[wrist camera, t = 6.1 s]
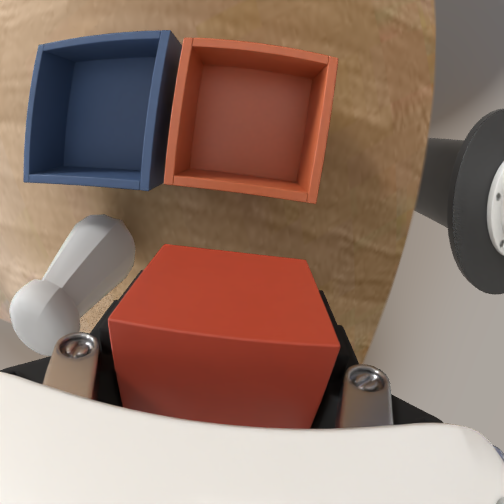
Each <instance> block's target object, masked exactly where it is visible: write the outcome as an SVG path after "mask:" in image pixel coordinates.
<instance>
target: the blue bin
mask: <svg viewBox="0 0 504 504" xmlns="http://www.w3.org/2000/svg"><path fill="white" fill-rule="evenodd" d="M181 50H182V45H181V44H180V42H179V41H178V40H177V38H176V37H175V36H174V34H173V33H172V32H171V31H170V30H162V31H137V32H122V33H111V34H102V35H93V36H86V37H79V38H73V39H67V40H62V41H56V42H51V43H47V44H42V45H39V46H38V51H37V55H36V60H35V65H34V70H33V76H32V82H31V88H30V95H29V102H28V111H27V120H26V132H25V147H24V182H28V183H29V182H30V183H49V184H67V185H82V186H96V187H109V188H121V189H133V190H143V191H149V190H151V189H153V188H155V187H157V186H159V185H161V184H162V183H164V175H165V164H166V154H167V145H168V136H169V128H170V120H171V113H172V105H173V98H174V92H175V85H176V79H177V73H178V67H179V61H180V56H181Z"/></svg>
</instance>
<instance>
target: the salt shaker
mask: <svg viewBox="0 0 504 504" xmlns="http://www.w3.org/2000/svg"><path fill="white" fill-rule="evenodd" d="M134 258H135V244H134V239H133V237H132V236H131V234H130V232H129V231H128V229H127V227H126V226H125V224H124V222H123V221H122V220H119V219H114V218H112V217H109V216H107V215H105V214H103V215H90V216H87V217H86V218H84V219H83V220H81V221H80V222H78V223H77V224H76V225H75V226H74V228H73V229H72V231H71V232H70V234H69V235H68V237H67V239H66V240H65V242H64V243H63V245H62V247H61V248H60V250H59V251H58V253H57V255H56V256H55V258H54V260H53V261H52V263H51V265H50V267H49V268H48V270H47V272H46V273H45V275H44V277H43V278H42V280H32V281H30V282H29V283H27V284H26V285H25V286H23V287H22V288H21V289H20V290H19V291H18V292H16V294H15V296H14V297H13V299H12V301H11V305H10V309H9V313H10V318H11V322H12V326H13V328H14V330H15V332H16V334H17V335H18V337H19V339H20V340H21V341H22V342H23V343H24V344H25V345H26V346H27V347H29V348H30V349H32V350H33V351H35V352H37V353H39V354H41V355H47V356H52V353H53V350H54V347H55V344H56V342H57V341H58V340H59V339H60V338H61V337H63V336H65V335H67V334H70V333H74V332H79V331H80V318H81V317H82V316H83V315H84V314H85V313H86V312H87V311H89V310H90V309H91V308H92V307H93V306H94V305H95V304H96V303H97V302H99V301H100V300H101V299H102V298H103V297H104V296H105V295H107V294H108V293H109V292H110V291H111V290H112V289H113V288H115V287H116V286H117V285H118V284H119V283H120V282H121V281H123V280H124V279H125V278H126V277H127V275H128V273H129V272H130V270H131V269H132V267H133V265H134Z"/></svg>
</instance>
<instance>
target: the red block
mask: <svg viewBox="0 0 504 504" xmlns="http://www.w3.org/2000/svg"><path fill="white" fill-rule="evenodd" d="M108 327H109V334H110V341H111V347H112V354H113V360H114V365H115V371H116V376H117V381H118V386H119V391H120V396H121V401H122V405H123V408H128V409H132V410H137V411H142V412H147V413H152V414H157V415H163V416H168V417H174V418H180V419H187V420H194V421H201V422H209V423H217V424H226V425H237V426H249V427H265V428H288V429H310V428H311V425H312V423H313V421H314V418H315V416H316V413H317V411H318V408H319V405H320V403H321V400H322V398H323V395H324V392H325V390H326V387H327V384H328V381H329V379H330V376H331V373H332V370H333V367H334V364H335V362H336V359H337V356H338V353H339V350H340V343H339V340H338V338H337V335H336V333H335V330H334V327H333V325H332V322H331V320H330V317H329V315H328V312H327V310H326V307H325V305H324V302H323V300H322V297H321V295H320V293H319V290H318V288H317V285H316V283H315V280H314V278H313V276H312V273H311V271H310V268H309V266H308V264H307V261H306V260H302V259H293V258H284V257H275V256H266V255H257V254H248V253H239V252H230V251H222V250H213V249H204V248H195V247H186V246H178V245H169V244H164V245H163V246H162V248H161V249H160V250H159V251H158V253H157V254H156V255H155V256H154V258H153V259H152V260H151V262H150V263H149V264H148V265H147V267H146V268H145V269H144V271H143V272H142V273H141V275H140V276H139V277H138V279H137V280H136V281H135V282H134V284H133V285H132V286H131V288H130V289H129V290H128V292H127V293H126V295H125V296H124V297H123V299H122V300H121V301H120V303H119V304H118V305H117V307H116V308H115V310H114V311H113V312H112V314H111V315H110V316H109V318H108Z"/></svg>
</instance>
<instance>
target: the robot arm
mask: <svg viewBox="0 0 504 504" xmlns="http://www.w3.org/2000/svg"><path fill="white" fill-rule="evenodd" d="M487 226H488V232H489V236H490V239H491V241H492V244H493V246H494V247H495V249H496V250H497V251H498V252H499V253H500V254H501V255H503V256H504V161H503V163H502V164H501V165H500V167H499V168H498V170H497V172H496V174H495V176H494V179H493V182H492V184H491V188H490V192H489V196H488V204H487ZM143 271H144V270H141V271H140V273H139V274H138V275H137V276H136V278H135V279H134V280H133V282H132V283H131V284H130V286H129V287H128V288H127V289H126V291H125V292H124V293H123V295H122V296H121V297H120V299H119V300H115V301H114V302H113V303H112V304H111V306H110V307H109V308H108V310H107V311H106V312H105V314H104V315H103V316H102V318H101V319H100V320H99V322H98V323H97V324H96V326H95V327H94V329H93V330H92V331H91V333H90V334H88V333H84V332H74V333H70V334H67V335H65V336H63V337H61V338H60V339H59V340H58V341H57V342H56V344H55V347H54V350H53V353H52V356H50V357H46V358H43V359H39V360H36V361H32V362H28V363H25V364H21V365H17V366H13V367H9V368H6V369H3V370H0V504H504V453H503V452H502V451H501V450H500V449H499V448H498V447H496V446H494V445H492V444H491V443H490V442H489V441H488V440H487V438H486V437H485V436H483V435H482V434H481V433H479V432H478V431H476V430H474V429H471V428H468V427H465V426H460V425H454V424H448V423H443V422H442V421H441V420H439V419H438V418H436V417H434V416H432V415H430V414H428V413H426V412H424V411H422V410H420V409H418V408H417V407H415V406H413V405H410V404H409V403H407V402H405V401H403V400H401V399H399V398H397V397H395V396H393V395H392V394H391V389H390V382H389V378H388V377H387V376H386V374H385V373H383V372H382V371H381V370H380V369H378V368H376V367H374V366H370V365H365V364H359V363H358V361H357V358H356V356H355V354H354V351H353V349H352V346H351V344H350V342H349V340H348V337H347V335H346V333H345V330H344V328H343V327H342V326H341V325H337V323H336V321H335V318H334V316H333V313H332V311H331V309H330V306H329V304H328V302H327V299H326V297H325V295H324V292H323V291H322V290H319V293H320V295H321V297H322V300H323V302H324V305H325V307H326V310H327V312H328V315H329V317H330V320H331V322H332V325H333V327H334V330H335V333H336V335H337V338H338V340H339V343H340V350H339V353H338V356H337V359H336V362H335V364H334V367H333V370H332V373H331V376H330V379H329V381H328V384H327V387H326V390H325V392H324V395H323V398H322V400H321V403H320V405H319V408H318V411H317V413H316V416H315V418H314V421H313V423H312V425H311V428H310V429H288V428H265V427H249V426H237V425H226V424H217V423H209V422H201V421H194V420H187V419H180V418H174V417H168V416H163V415H157V414H152V413H147V412H142V411H137V410H132V409H128V408H123V405H122V401H121V396H120V391H119V386H118V381H117V376H116V371H115V365H114V360H113V354H112V347H111V341H110V334H109V327H108V318H109V316H110V315H111V314H112V312H113V311H114V310H115V308H116V307H117V305H118V304H119V303H120V301H121V300H122V299H123V297H124V296H125V295H126V293H127V292H128V290H129V289H130V288H131V286H132V285H133V284H134V282H135V281H136V280H137V279H138V277H139V276H140V275H141V273H142V272H143Z"/></svg>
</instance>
